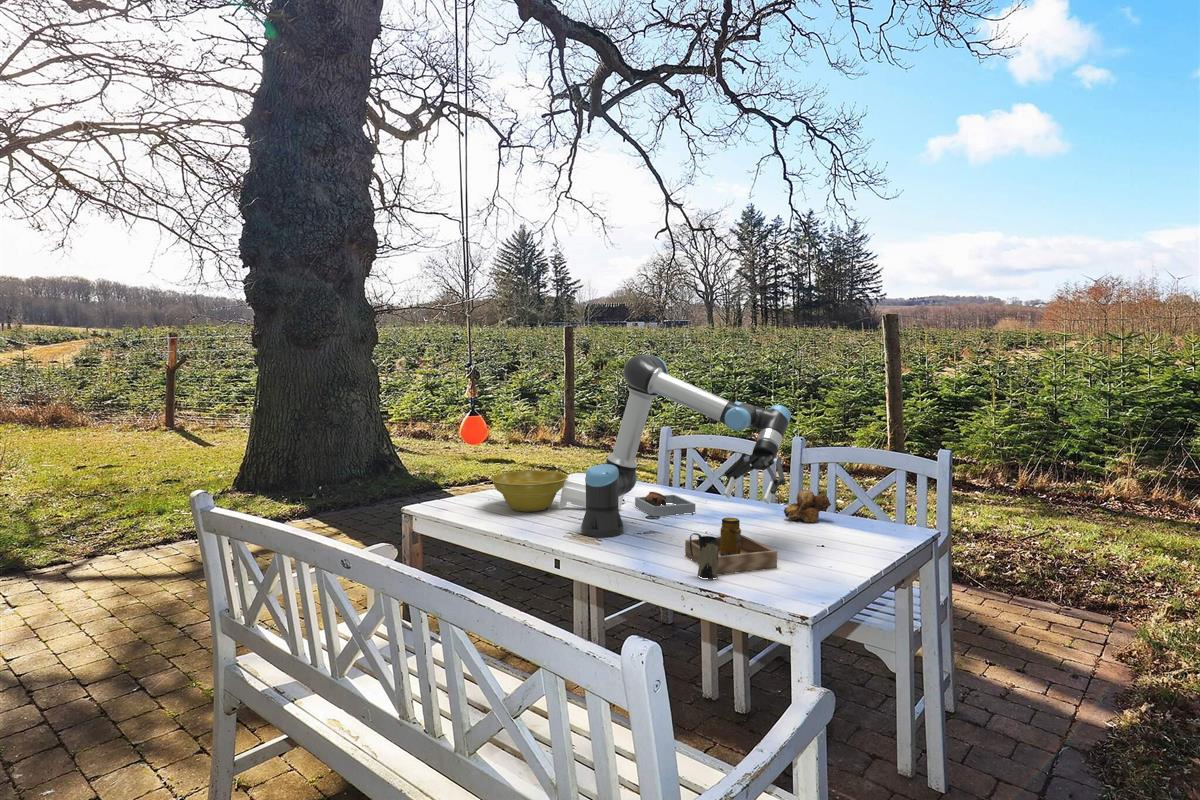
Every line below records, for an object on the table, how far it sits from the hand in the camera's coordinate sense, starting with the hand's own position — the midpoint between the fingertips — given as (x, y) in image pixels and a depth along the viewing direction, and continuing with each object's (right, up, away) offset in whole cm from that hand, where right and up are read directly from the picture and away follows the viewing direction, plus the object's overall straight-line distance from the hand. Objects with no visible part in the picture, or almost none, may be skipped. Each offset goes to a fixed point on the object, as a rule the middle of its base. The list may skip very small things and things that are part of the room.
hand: (746, 498), depth 211 cm
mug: (-16, -19, -21) cm, 33 cm away
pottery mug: (-23, -14, +66) cm, 71 cm away
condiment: (-6, -17, -8) cm, 20 cm away
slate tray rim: (-19, -14, +64) cm, 69 cm away
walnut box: (-7, -18, -7) cm, 21 cm away
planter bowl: (-75, -14, +69) cm, 103 cm away
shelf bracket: (-49, -15, +66) cm, 84 cm away
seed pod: (+32, -15, +45) cm, 57 cm away
